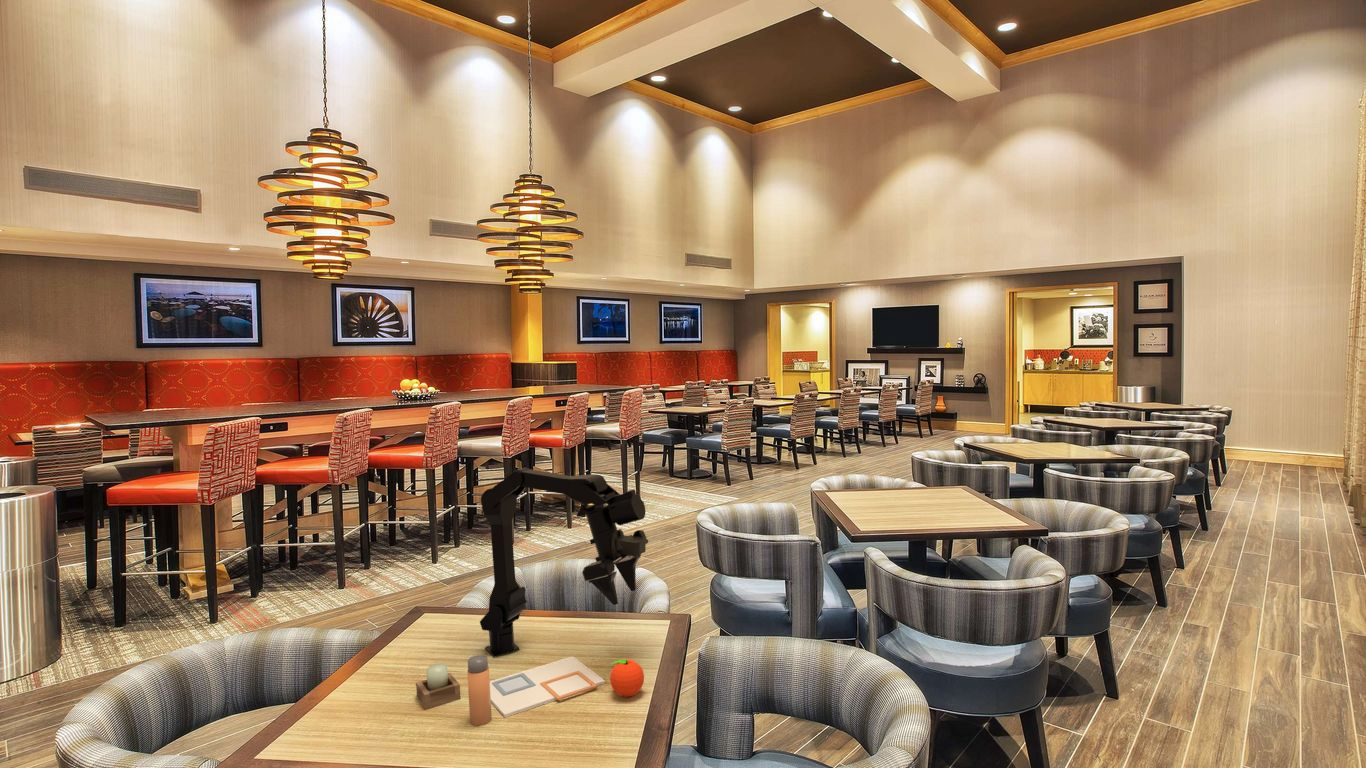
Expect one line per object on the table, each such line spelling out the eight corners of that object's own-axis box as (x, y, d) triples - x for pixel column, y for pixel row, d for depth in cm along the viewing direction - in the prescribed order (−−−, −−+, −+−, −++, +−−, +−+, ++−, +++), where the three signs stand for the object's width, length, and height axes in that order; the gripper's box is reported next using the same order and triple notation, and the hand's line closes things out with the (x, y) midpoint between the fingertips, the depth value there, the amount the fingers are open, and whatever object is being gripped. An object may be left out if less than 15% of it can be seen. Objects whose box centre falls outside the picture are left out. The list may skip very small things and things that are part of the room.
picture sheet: (478, 687, 145) (478, 683, 145) (572, 658, 158) (572, 654, 158) (507, 720, 131) (507, 716, 131) (608, 685, 144) (608, 681, 143)
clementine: (600, 699, 138) (598, 664, 138) (616, 684, 144) (614, 651, 144) (636, 705, 135) (634, 669, 135) (650, 689, 141) (648, 655, 141)
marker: (467, 719, 132) (464, 658, 132) (487, 712, 134) (484, 652, 134) (473, 728, 129) (470, 665, 129) (494, 721, 131) (491, 659, 131)
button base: (416, 696, 143) (416, 682, 143) (450, 686, 147) (450, 672, 147) (425, 709, 137) (424, 694, 137) (460, 698, 141) (459, 684, 141)
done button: (425, 686, 142) (424, 667, 142) (445, 680, 144) (444, 661, 144) (430, 693, 139) (429, 674, 139) (450, 687, 141) (449, 668, 141)
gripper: (616, 531, 142) (638, 604, 141) (651, 512, 160) (671, 576, 158) (571, 544, 146) (593, 615, 145) (611, 523, 164) (630, 587, 162)
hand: (624, 597), depth 153 cm, fingers open, 9 cm apart
